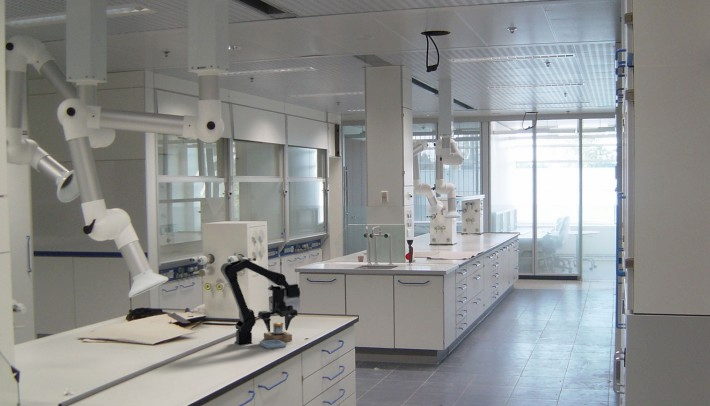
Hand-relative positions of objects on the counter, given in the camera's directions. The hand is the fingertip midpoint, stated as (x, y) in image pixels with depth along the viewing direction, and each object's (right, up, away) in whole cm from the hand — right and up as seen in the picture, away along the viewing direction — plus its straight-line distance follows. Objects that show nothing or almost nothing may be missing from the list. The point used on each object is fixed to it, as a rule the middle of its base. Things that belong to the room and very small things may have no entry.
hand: (277, 331), depth 352 cm
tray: (-1, -5, -13) cm, 14 cm away
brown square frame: (0, -4, 0) cm, 4 cm away
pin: (0, -4, 0) cm, 4 cm away
